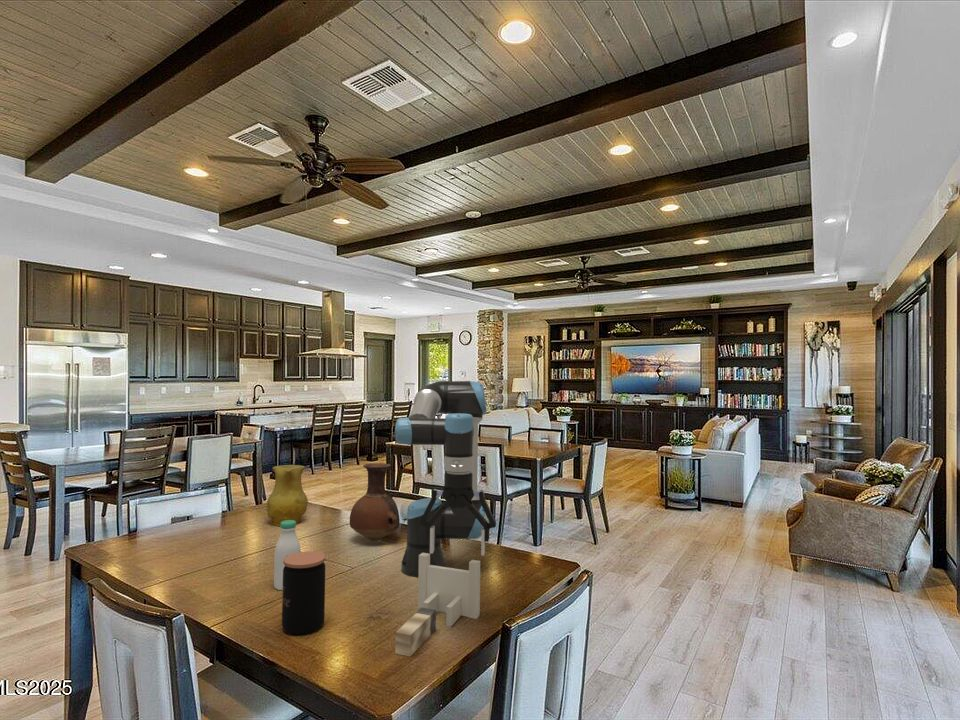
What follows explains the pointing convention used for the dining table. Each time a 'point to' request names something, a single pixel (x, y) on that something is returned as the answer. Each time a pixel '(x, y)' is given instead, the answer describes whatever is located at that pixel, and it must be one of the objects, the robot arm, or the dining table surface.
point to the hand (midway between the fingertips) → (457, 553)
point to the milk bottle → (284, 550)
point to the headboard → (449, 589)
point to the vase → (375, 506)
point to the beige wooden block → (415, 631)
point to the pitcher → (287, 495)
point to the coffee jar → (303, 592)
